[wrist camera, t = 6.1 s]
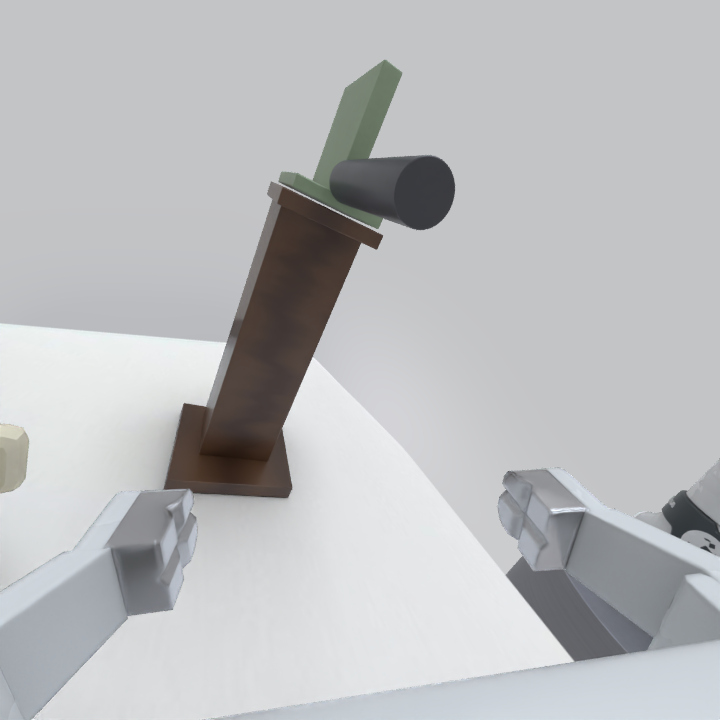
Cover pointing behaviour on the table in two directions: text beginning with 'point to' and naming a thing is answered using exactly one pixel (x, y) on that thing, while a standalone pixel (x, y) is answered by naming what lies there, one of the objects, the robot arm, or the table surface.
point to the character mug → (12, 456)
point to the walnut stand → (267, 351)
